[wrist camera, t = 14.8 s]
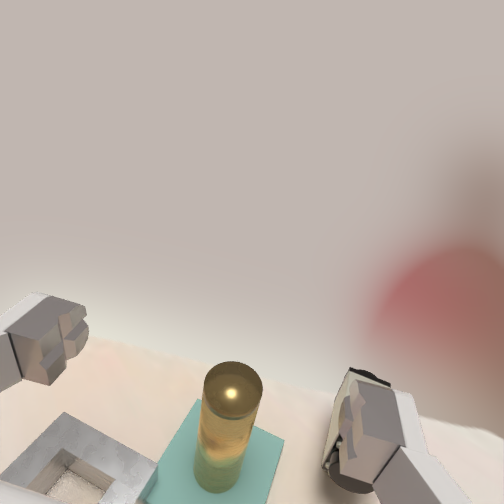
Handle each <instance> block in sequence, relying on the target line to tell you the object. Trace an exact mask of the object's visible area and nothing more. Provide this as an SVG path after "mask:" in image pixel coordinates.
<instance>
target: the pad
mask: <svg viewBox="0 0 504 504" xmlns="http://www.w3.org/2000/svg"><path fill="white" fill-rule="evenodd" d="M201 403H202V400H200V399H197V401H196V402H195V404H194V405H193V407H192V409H191V410H190V412H189V414H188V415H187V417H186V418H185V420H184V422H183V423H182V425H181V426H180V428H179V430H178V431H177V433H176V434H175V436H174V438H173V439H172V441H171V442H170V444H169V446H168V447H167V449H166V450H165V452H164V454H163V455H162V457H161V458H160V460H159V462H158V463H157V464H158V481H157V483H156V484H155V486H154V488H153V489H152V491H151V493H150V494H149V496H148V498H147V499H146V504H265V503H266V499H267V496H268V493H269V489H270V486H271V483H272V480H273V476H274V473H275V470H276V467H277V463H278V460H279V457H280V453H281V450H282V447H283V444H284V440H283V439H281V438H279V437H276V436H274V435H272V434H270V433H268V432H266V431H264V430H262V429H260V428H258V427H256V426H254V425H253V428H252V432H251V436H250V439H249V443H248V446H247V450H246V454H245V457H244V461H243V464H242V468H241V472H240V475H239V478H238V480H237V482H236V483H235V485H234V486H233V487H232V488H231V489H229V490H228V491H226V492H223V493H219V494H215V493H210V492H207V491H205V490H204V489H203V488H201V487H200V485H199V484H198V483H197V481H196V479H195V476H194V471H193V466H194V457H195V450H196V442H197V434H198V426H199V419H200V411H201Z"/></svg>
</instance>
